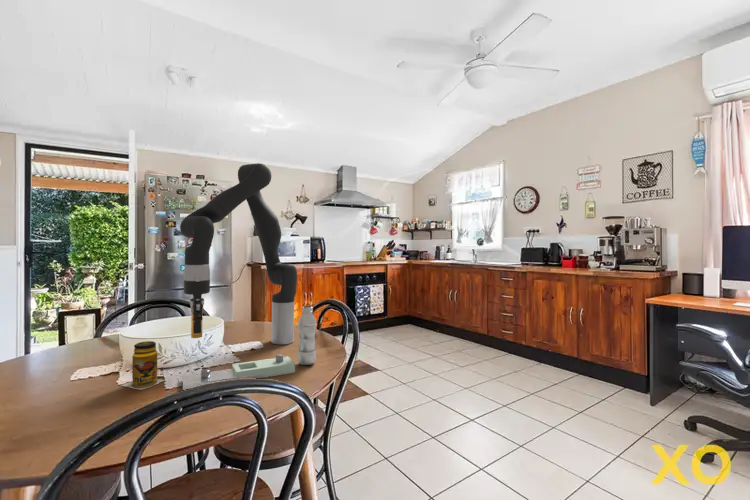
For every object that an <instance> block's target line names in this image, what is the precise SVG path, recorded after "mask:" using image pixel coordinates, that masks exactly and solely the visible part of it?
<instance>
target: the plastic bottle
mask: <svg viewBox="0 0 750 500" xmlns="http://www.w3.org/2000/svg"><path fill="white" fill-rule="evenodd" d="M301 313H302V314H301V316H300V317H299V319H298V321H297V326H298V336H299V337H298V338H299V340H298V343H299V344H298V351H297V357H296V358H297V362H298V364H299V365H301V366H309V365H313V364H314V363H315V362H316V359H317V351H316V344H315V343H316V342H315V341H316V340H315V337H316V328H317V319H316V317H315V316H314V314H313V313H314V307H313V306H311V305H305V306H304V305H303V306H302V310H301Z"/></svg>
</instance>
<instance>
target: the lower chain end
mask: <svg viewBox="0 0 750 500" xmlns="http://www.w3.org/2000/svg"><path fill="white" fill-rule="evenodd" d="M251 368H255V367H251ZM244 369H249V368H244ZM241 370H242V369H241ZM263 374H264V373H259V374H253V375H246V376H240V377H236V376H235V373H234V371H233V369H232V368H229V369H222V370H214V371H211V369H210V368H204V369H201V371H200V373H194V374H193V373H192V374H185V375H182V376H181V377H182V378H181V383H183V385H182V391H183V390H185V389H189V388H193V387H196V386H200V385H204V384H208V383H212V382H217V381H223V380H231V379H240V378H258V379H262V378H263ZM185 391H186V390H185Z"/></svg>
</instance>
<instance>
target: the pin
mask: <svg viewBox="0 0 750 500" xmlns="http://www.w3.org/2000/svg"><path fill="white" fill-rule="evenodd" d="M193 311H194V309H193ZM190 315H191V317H190V318H191V320H190V321H191V325H190V326H191V328H190V329H191V330H190V332H191V333H190V336H191V339H200V338H202V337H203V320H202V321H201V333H197V334H194V333H193V315H192V314H191V313H190ZM195 317H200V315H196V316H195Z"/></svg>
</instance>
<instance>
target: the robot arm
mask: <svg viewBox="0 0 750 500" xmlns="http://www.w3.org/2000/svg"><path fill="white" fill-rule="evenodd" d="M237 179H238V183H237V184H235V185H234V186H232V187H230V188H227V189H225V190H224V191H222V192H220V193H219V194H216V196H214V197H213V198H212V199H211V200H210V201H208V202H207V203H206V204H205V205H203V206H202V207H200V208H198V209H196V210H195V211H193V212H191V213H189V214H188V215H186V216H185V217H184V218H183V219H182V221H181V222H180V225H179V230H180V232H181V234H182V235H183V236H184V237H186V238H189V239H192V241H191V245H190V246H189V245H188V246H187V247H186V248H185V250H184V269H183V294H185V295H189V296H190V295H192V297H191V298H189V305H190V315H191V314H192V315H193V333H194V334H197V333H201V321H202V322H203V314H204V305H205V299H204V297H202V295H206V294H209V293H210V291H211V269H210V251H211V247H212V244H213V238H214V235H215V226H214V224H216V223H220V222H221V221H222V220H224V219H225V218H226V217H227V216H228V215H229V214H231V212H233V211H234V210H235V209H236V208H237V207H238V206H240V205H241V204H242V203H243V202H245V201H246V203H247V204H248V207H249V211H250V213H251V214H250V215H251V216H252V219H253V223H254V226H255V227H254V228H255V230H256V234H257V236H258V240H259V242H260V246H261V251H262V253H263V257H264V262H265V267H266V268H265V269H266V274H267V276H268V280H269V281H270V283H271V284H272V285H276V286H280V290H279V292H276V293H274V294H272V297H271V335H270V337H271V340H270V341H271V344H274V345H289V344H292V343H294V340H295V339H294V338H295V337H294V335H295V334H294V333H295V298H296V294H297V288H298V287H297V285H298V270H297V267H296V266H295V265H294V264H291V263H282V262H281V260H280V257H279V247H280V243H281V240H282V229H281V225H280V222H279V219H278V216H277V215H276V213H275V212H274V211H273V209H271V207H270V206H269V204H267V202H266V201H265V199H264V197H263V196H262V193H261V190H263V189H264V188H266V187H268V185H270V183H271V181H272V172H271V170H270V167H268V166H267V165H266V164H263V163H260V162H259V163H250V164H249V163H248V164H242V165H241V166H239V168H238V170H237ZM193 309H194V311H193ZM196 315H200V317H195V316H196Z"/></svg>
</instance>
